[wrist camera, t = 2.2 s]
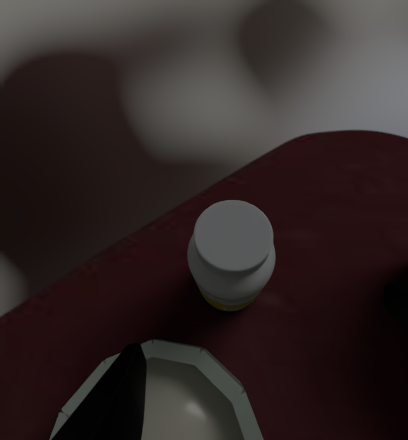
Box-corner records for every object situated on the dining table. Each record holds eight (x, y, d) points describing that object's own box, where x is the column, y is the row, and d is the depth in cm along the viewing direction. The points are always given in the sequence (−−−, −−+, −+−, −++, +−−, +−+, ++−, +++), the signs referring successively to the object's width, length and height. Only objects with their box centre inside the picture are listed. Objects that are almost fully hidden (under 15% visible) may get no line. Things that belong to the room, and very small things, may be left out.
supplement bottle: (218, 241, 21) (216, 174, 13) (269, 270, 19) (306, 216, 11) (186, 288, 19) (157, 247, 11) (239, 326, 17) (255, 313, 9)
